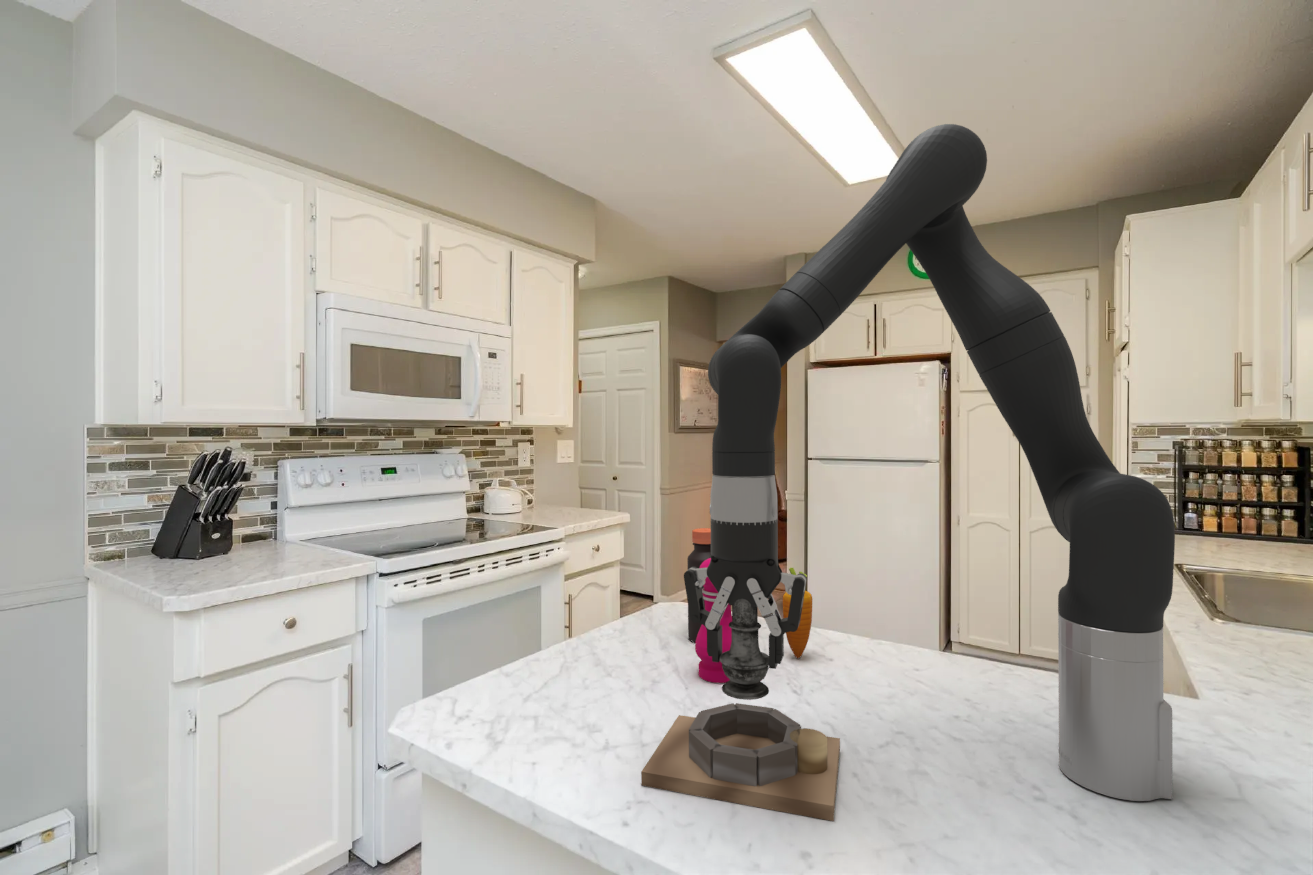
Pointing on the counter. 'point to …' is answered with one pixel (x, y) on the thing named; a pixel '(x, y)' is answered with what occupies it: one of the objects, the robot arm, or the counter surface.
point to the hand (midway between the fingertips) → (744, 662)
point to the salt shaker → (745, 655)
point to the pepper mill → (706, 666)
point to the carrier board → (748, 761)
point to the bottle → (695, 559)
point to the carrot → (801, 635)
